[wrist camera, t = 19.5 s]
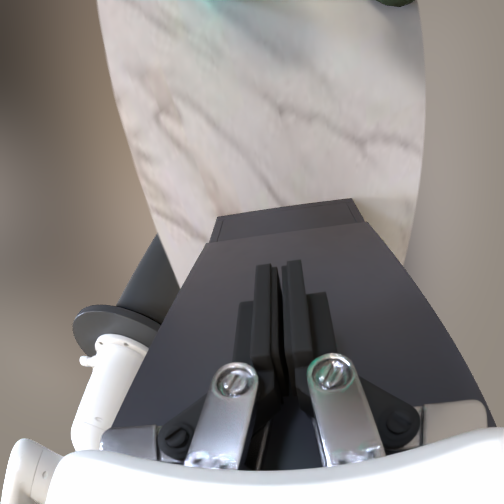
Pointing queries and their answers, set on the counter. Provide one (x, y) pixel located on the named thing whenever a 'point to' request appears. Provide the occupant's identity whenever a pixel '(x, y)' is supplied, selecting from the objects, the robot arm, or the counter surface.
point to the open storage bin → (286, 219)
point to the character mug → (396, 2)
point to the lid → (343, 319)
